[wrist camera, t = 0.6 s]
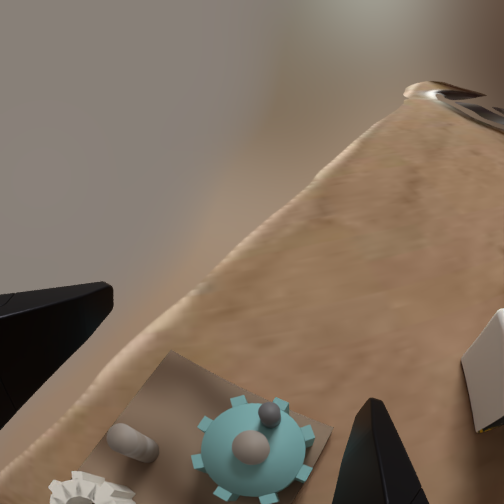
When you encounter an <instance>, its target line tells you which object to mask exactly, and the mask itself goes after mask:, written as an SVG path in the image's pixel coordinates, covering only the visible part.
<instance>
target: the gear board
mask: <svg viewBox="0 0 504 504" xmlns="http://www.w3.org/2000/svg"><path fill="white" fill-rule="evenodd" d="M242 395H244V396H245V398H246V400H247V402H248V404H250V403H259V404H263V403H266V402H271V401H269V400H266V399H264V398H262V397H260V396H258V395H256V394H254V393H252V392H249V391H247V390H245V389H243V388H241V387H239V386H237V385H235V384H233V383H231V382H229V381H227V380H225V379H223V378H221V377H219V376H218V375H216V374H214V373H212V372H210V371H208V370H206V369H204V368H202V367H201V366H199V365H197V364H195V363H193V362H192V361H190V360H188V359H186V358H185V357H183V356H181V355H179V354H178V353H176V352H174V351H172V350H170V352H169V353H168V354H167V355H166V357H165V358H164V359H163V361H162V362H161V363H160V364H159V366H158V367H157V368H156V370H155V371H154V372H153V373H152V375H151V376H150V377H149V379H148V380H147V381H146V382H145V384H144V385H143V386H142V388H141V389H140V390H139V391H138V393H137V394H136V395H135V397H134V398H133V399H132V400H131V402H130V403H129V404H128V406H127V407H126V408H125V409H124V411H123V412H122V413H121V415H120V416H119V417H118V418H117V420H116V421H115V422H114V424H113V425H112V426H111V428H110V429H109V430H108V431H107V433H106V434H105V435H104V437H103V438H102V439H101V440H100V442H99V443H98V444H97V446H96V447H95V448H94V449H93V451H92V452H91V453H90V455H89V456H88V457H87V459H86V460H85V461H84V462H83V464H82V465H81V466H80V468H79V469H78V470H77V471H82V472H86V473H89V474H92V475H96V476H99V477H103V478H105V481H106V482H110V483H114V484H118V485H123V486H127V487H128V488H129V489H130V490H132V491H133V492H134V493H135V495H134V497H133V498H132V500H133V501H134V502H135V503H136V504H261V502H260V499H259V497H250V496H242V495H240V496H239V497H238V499H237V500H236V501H225V500H223V499H221V498H220V497H218V496H216V495H214V494H213V493H214V492H215V490H216V489H217V487H218V486H219V485H218V484H216V483H215V482H214V481H213V480H212V478H211V477H210V476H209V474H208V473H204V472H201V471H198V470H196V469H194V467H193V462H192V458H191V455H196V454H201V445H202V440H203V437H204V434H205V433H203V432H202V431H201V430H200V429H199V428H198V427H197V426H198V425H199V423H200V422H201V420H202V419H203V418H204V416H206V417H208V418H210V419H212V420H215V419H216V418H217V417H218V416H219V415H220V414H222V413H223V412H225V411H226V410H228V409H230V408H233V407H232V404H231V400H230V398H234V397H238V396H242ZM289 416H290V417H292V418H293V419H294V421H295V422H296V423H297V424H298V426H299V427H300V428H301V427H304V426H307V425H311V428H312V430H313V433H314V435H315V440H314V443H313V445H312V446H310V447H307V448H305V458H304V462H303V464H304V465H306V466H309V467H311V468H313V466H314V464H315V462H316V461H317V459H318V457H319V455H320V453H321V451H322V449H323V448H324V446H325V444H326V442H327V440H328V438H329V436H330V434H331V432H332V430H333V428H334V427H331V426H329V425H326V424H323V423H321V422H318V421H316V420H313V419H311V418H308V417H306V416H303V415H301V414H298V413H296V412H294V411H291V410H289ZM232 451H233V454H234V456H235V457H236V458H237V459H238V460H240V461H241V462H243V463H245V464H247V465H257V464H260V463H262V462H263V461H265V460H266V459H267V457H268V455H269V453H270V446H269V443H268V440H267V439H266V437H265V436H264V435H263V434H262V433H260V432H258V431H254V430H247V431H243V432H241V433H239V434H238V435H237V436H236V437H235V438H234V440H233V443H232ZM302 466H303V465H302ZM70 480H72V478H71V479H70ZM303 484H304V483H301V482H299V481H296V480H294V481H293V482H292V483H291V484H290V485H289V486H288V487H287V488H285V489H283V490H282V491H280V492H278V493H277V494H278V497H279V500H280V501H278V502H275V503H271V504H291V503H292V502H293V500H294V499H295V497H296V495H297V494H298V492H299V490H300V489H301V487H302V485H303ZM93 504H95V503H93Z"/></svg>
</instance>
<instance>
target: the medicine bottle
mask: <svg viewBox="0 0 504 504" xmlns="http://www.w3.org/2000/svg"><path fill="white" fill-rule="evenodd" d="M461 362H462V366H463V370H464V374H465V378H466V383H467V387H468V392H469V397H470V402H471V407H472V413H473V419H474V425H475V431H476V433H482V432H485V431H488V430H491V429H494V428H496V427H499V426H502V425H504V308H502V309H499V310H498V311H497V312H496V313H495V315H494V316H493V317H492V319H491V320H490V322H489V323H488V324H487V326H486V327H485V328H484V330H483V331H482V332H481V334H480V335H479V336H478V337H477V339H476V340H475V341H474V342H473V344H472V345H471V346H470V347H469V349H468V350H467V351H466V352H465V353H464V355H463V356H462V358H461Z"/></svg>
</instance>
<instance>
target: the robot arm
mask: <svg viewBox="0 0 504 504" xmlns="http://www.w3.org/2000/svg"><path fill="white" fill-rule="evenodd" d="M113 305H114V303H113V287H112V286H111V285H109V284H108V283H106V282H103V281H102V282H94V283H87V284H79V285H73V286H64V287H57V288H49V289H42V290H34V291H27V292H18V293H10V294H2V295H0V430H1V429H2V428H3V427H4V425H5V424H6V423H7V422H8V421H9V420H10V419H11V418H12V417H13V416H14V415H15V414H16V412H17V411H18V410H19V409H20V408H21V407H22V406H23V405H24V404H25V403H26V402H27V401H28V399H29V398H30V397H31V396H32V395H33V394H34V393H35V392H36V391H37V390H38V389H39V388H40V387H41V386H42V385H43V383H45V382H46V381H47V380H48V379H49V378H50V377H51V376H52V374H54V372H55V371H57V370H58V368H59V367H60V366H61V365H62V364H63V363H64V362H65V361H66V360H67V359H68V358H69V357H70V356H71V355H72V354H73V353H74V352H76V351H77V349H79V348H80V347H81V345H83V344H84V342H86V341H87V340H88V338H89V337H90V336H91V335H92V334H93V333H94V331H95V330H96V329H97V328H98V326H99V325H100V324H101V323H102V322H103V320H104V319H105V318H106V317H107V316H108V315H109V313H110V312H111V311H112V309H113ZM332 504H429V502H428V500H427V498H426V495H425V493H424V491H423V489H422V488H421V484H420V482H419V479H418V477H417V475H416V472H415V470H414V468H413V466H412V463H411V461H410V459H409V457H408V454H407V452H406V450H405V448H404V446H403V443H402V441H401V439H400V437H399V435H398V433H397V430H396V428H395V426H394V424H393V422H392V420H391V418H390V416H389V413H388V411H387V409H386V407H385V405H384V403H383V402H382V401H381V400H379V399H375V398H369V399H368V400H367V401H366V403H365V404H364V405H363V407H362V408H361V409H360V411H359V412H358V413H357V415H356V417H355V420H354V423H353V427H352V430H351V433H350V437H349V440H348V443H347V446H346V449H345V452H344V455H343V459H342V463H341V467H340V471H339V476H338V481H337V485H336V489H335V493H334V497H333V502H332Z"/></svg>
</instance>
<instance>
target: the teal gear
mask: <svg viewBox="0 0 504 504" xmlns="http://www.w3.org/2000/svg"><path fill="white" fill-rule="evenodd" d="M230 400H231V404H232V407H233V408H230V409H228V410H226V411H225V412H223V413H222V414H220V415H219V416H218V417H217V418H216V419H215V420H212V419H210V418H208V417H206V416H204V418H203V419H202V420H201V422H200V423H199V425H198V426H197V427H198V428H199V429H200V430H201V431H202V432H203V433H205V434H204V437H203V440H202V445H201V454H196V455H191V458H192V462H193V467H194V469H196V470H198V471H201V472H204V473H208V474H209V476H210V477H211V478H212V480H213V481H214V482H215V483H216V484H218V485H219V486H218V487H217V489H216V490H215V492H214V493H213V494H214V495H216V496H218V497H220V498H221V499H223V500H225V501H236V500H237V499H238V497H239V496H240V495H242V496H250V497H259V499H260V502H261V504H271V503H275V502H278V501H280V500H279V497H278V494H277V493H278V492H280V491H282V490H283V489H285V488H287V487H288V486H289V485H290V484H291V483H292V482H293V481H294V480H296V481H299V482H301V483H304V482H305V481H306V479H307V478H308V476H309V474H310V472H311V471H312V469H313V468H311V467H309V466H306V465H304V464H303V462H304V458H305V448H307V447H310V446H312V445H313V443H314V440H315V435H314V433H313V430H312V428H311V425H307V426H304V427H301V428H300V427H299V426H298V424H297V423H296V422H295V421H294V419H293V418H292V417H290V416H289V403H288V402H286V401H283V400H281V399H279V398H277V397H275V399H274V401H273V402H266V403H263V404H259V403H250V404H248V402H247V400H246V398H245V396H244V395H242V396H238V397H234V398H230ZM247 430H254V431H258V432H260V433H262V434H263V435H264V436H265V437H266V439H267V440H268V443H269V446H270V453H269V455H268V457H267V459H266V460H265V461H263V462H262V463H260V464H257V465H247V464H245V463H243V462H241V461H240V460H238V459H237V458H236V457H235V456H234V454H233V451H232V443H233V440H234V438H235V437H236V436H237V435H238V434H239V433H241V432H243V431H247ZM302 465H303V466H302Z"/></svg>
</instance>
